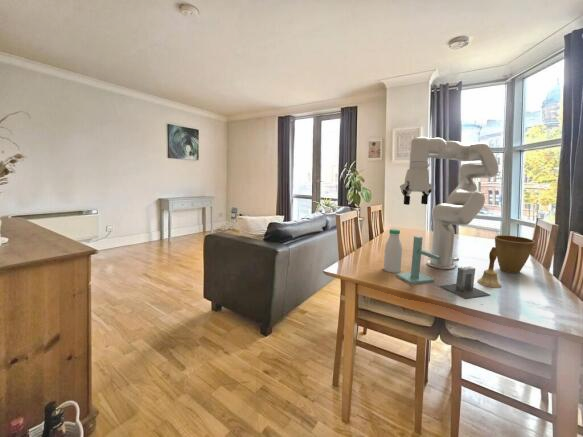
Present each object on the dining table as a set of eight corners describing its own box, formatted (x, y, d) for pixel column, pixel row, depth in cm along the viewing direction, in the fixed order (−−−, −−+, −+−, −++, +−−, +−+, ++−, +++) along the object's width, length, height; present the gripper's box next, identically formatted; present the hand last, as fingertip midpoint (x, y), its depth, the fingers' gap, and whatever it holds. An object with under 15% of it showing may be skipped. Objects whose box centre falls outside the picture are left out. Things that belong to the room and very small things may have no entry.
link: (467, 287, 111) (469, 266, 110) (472, 290, 109) (475, 268, 108) (455, 289, 110) (457, 267, 108) (460, 291, 107) (463, 269, 106)
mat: (462, 283, 117) (462, 282, 117) (489, 295, 105) (490, 294, 105) (439, 286, 113) (440, 285, 113) (465, 298, 102) (465, 297, 102)
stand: (417, 273, 128) (421, 233, 125) (447, 287, 112) (452, 242, 109) (395, 276, 125) (398, 235, 122) (423, 291, 109) (427, 244, 106)
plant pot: (483, 265, 141) (487, 235, 138) (512, 265, 141) (516, 235, 139) (506, 276, 126) (511, 242, 124) (538, 276, 126) (543, 242, 124)
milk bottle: (401, 273, 128) (405, 231, 125) (384, 272, 129) (387, 230, 126) (398, 268, 135) (401, 228, 132) (382, 267, 137) (385, 227, 134)
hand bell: (481, 278, 123) (485, 244, 120) (503, 284, 116) (508, 248, 114) (474, 283, 118) (478, 246, 115) (497, 289, 111) (502, 251, 109)
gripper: (427, 166, 129) (424, 203, 131) (396, 166, 124) (394, 203, 126) (440, 166, 122) (437, 204, 124) (408, 165, 117) (405, 205, 119)
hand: (415, 204), depth 125 cm, fingers open, 9 cm apart
